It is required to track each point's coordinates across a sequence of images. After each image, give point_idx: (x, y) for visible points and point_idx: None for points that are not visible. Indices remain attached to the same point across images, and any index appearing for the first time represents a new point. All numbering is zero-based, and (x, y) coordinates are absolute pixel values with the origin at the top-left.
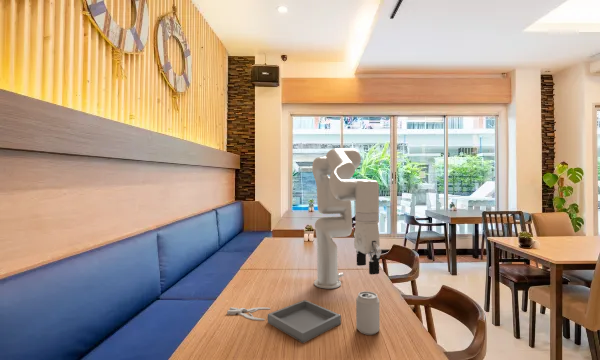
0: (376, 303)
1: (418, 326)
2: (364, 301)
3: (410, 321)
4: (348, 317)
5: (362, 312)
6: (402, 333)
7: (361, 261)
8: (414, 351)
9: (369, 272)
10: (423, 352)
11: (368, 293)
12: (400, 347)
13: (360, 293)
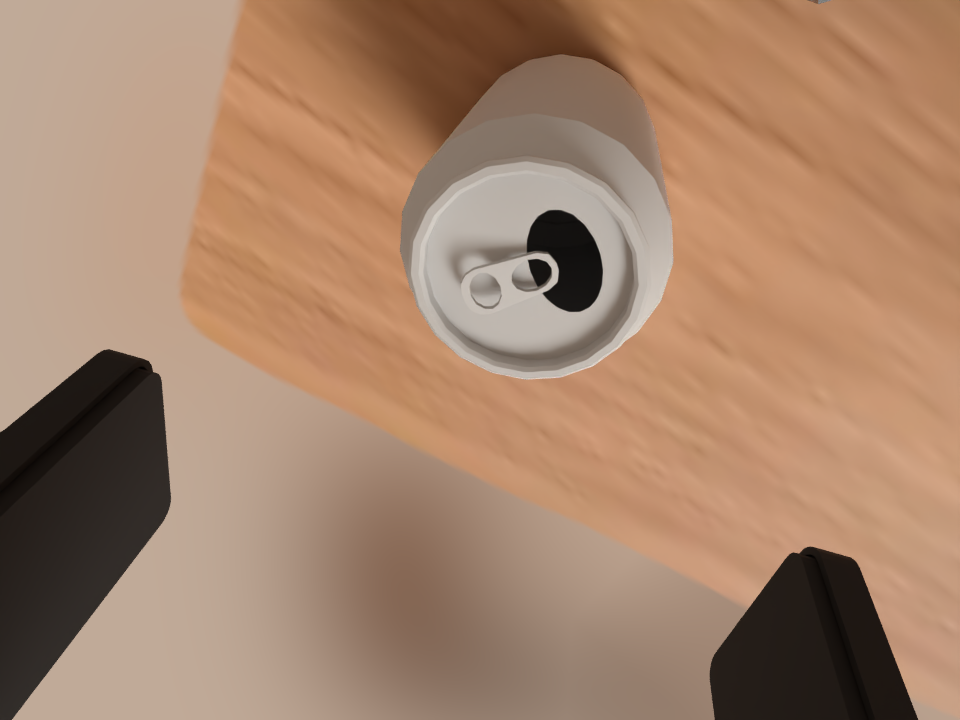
0: (406, 266)
1: (443, 456)
2: (460, 157)
3: (512, 467)
4: (839, 147)
5: (492, 101)
6: (415, 327)
7: (770, 690)
8: (222, 234)
9: (100, 366)
10: (202, 270)
11: (590, 332)
12: (280, 194)
13: (626, 239)
